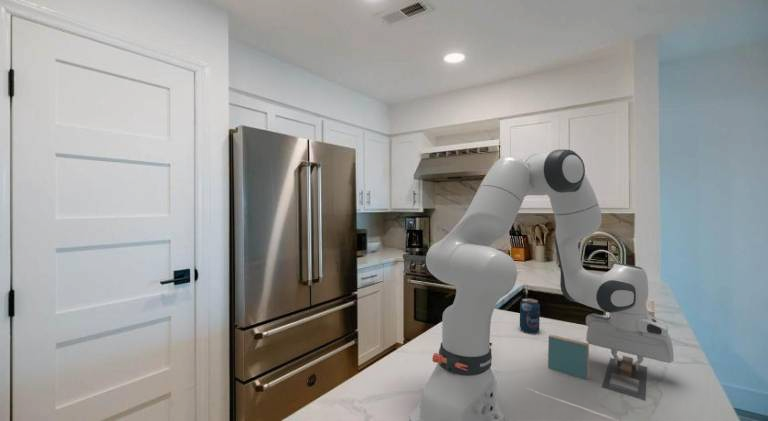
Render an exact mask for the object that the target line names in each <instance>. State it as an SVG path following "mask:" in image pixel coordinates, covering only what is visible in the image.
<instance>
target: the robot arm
mask: <svg viewBox="0 0 768 421" xmlns="http://www.w3.org/2000/svg"><path fill="white" fill-rule="evenodd" d="M585 170H586V167H585V163H584V161H583V159H582V157H581V156H580V155H579V154H578V153H576V152H575V151H574V150H571V149H564V148H562V149H555V150H552V151H546V152H540V153H535V154H531V155H528V156H524V157H523V158H518V157H515V156H504V157H503V156H502V157H500V158H499V159H497V160H496V161H495V162H494V163H493V164H492V166H491V167H490V169H489V170H488V171H487V173H486V174H485V176H484V178H483V179H482V181H481V183H480V184H479V186H478V189H477V190H476V193H475V195H474V197H473V199H472V201H471V203H470V204H469V206H468V209H467V210H466V212H465V213H464V215H463V217H462V218H461V219H460V220H459V222H458V223H457V224H456V225H455V226H454V227H453V228H452V229H451V230H450V232H448V233H447V235H446V236H445V237H443V238H442V239H441V240H438V241H437V242H435V243H434V244H432V245H431V246H430V247H429V248H428V251H427V252H426V256H425V265H426V269H427V270H428V272H429V273H430V274H431V275H433V277H434V278H436V279H437V280H439V281H440V282H441V283H442V282H443V283H444V284H448V285H450V286H453V287H455V289H456V291H455V297H454V300H453V303H452V304H451V305H449V306H448V307H446V308H445V309H444V311H443V312H442V319H441V320H442V326H441V327H442V330H441V332H442V333H441V339H442V340H441V343H440V346H439V349H438V352H437V353H436V352H435V353H433V354H432V362H433V363H434V364H435V363H436V366H435V368H434V369H433V371H432V372H431V375H430V376H429V379H428V381H427V382H426V385H425V387H424V389H423V390H422V392H421V399H420V401H419V402H418V404H417V405H416V407H415V408H414V410H413V411H412V412H411V414H410V415H409V421H505V415H504V413H503V412H502V411H501V410H500V409H499V396H498V395H499V394H498V381H497V378H496V377H495V375H494V373H493V372H492V368H491V367H492V360H493V355H492V349H491V347H490V343H491V341H490V339H491V324H492V323H491V321H492V318H493V317H492V316H493V313H494V310H495V307H496V306H497V304H498V302H499V301H500V300H501V299H502V298H504V297H506V296H507V295H508V294H509V293H510V292H511V291H512V290H513V289H514V287H515V284H516V282H517V278H518V270H517V266H516V262H515V261H514V259H513V258H512V257H511V256H510V255H509V254H508V253H505V252H504V251H502V250H499V249H497V248H494V247H493V246H491V245H492V244H493V243H495V242H496V241H497V240H500V239H502V238H504V237H505V236H507V235H508V234H509V233H510V231H511V229H512V227H513V225H514V222H515V220H516V218H517V215H518V214H519V212H520V209H521V207H522V204H523V202H524V199H525V198H526V196H548V198H549V201H550V204H551V205H550V206H551V210H552V212H553V215H554V220H555V227H554V232H553V236H554V238H553V239H554V244H555V248H556V249H555V250H556V255H557V259H558V265H559V270H560V291H561V293H562V295H563V296H564V298H566V299H567V300H568V301H571V302H575V303H578V304H582V305H585V306H586V307H590V308H592V309H596V310H597V311H598V310H599V311H602V312H604V313H609V315H604V314H598V313H594V312H593V313H591V314H588V315H586V317H585V324H586V326H587V331H586V337H585V338H586V343H588V344H589V345H592V346H597V347H600V348H603V349H604V348H605V349H609V350H610V353H611V355H612V358H613V359H616V360H615V365H617V366H621V363H622V358H620V357H619V356H618V354H617V353H618V352H622V353H626V354H629V355H635V356H636V358H637V360H636V361H634V360H633V361H632V369H633V370H636V371H638V365H641V364H642V363H643V362H644V358H646V359H650V360H655V361H657V362H658V361H660V362H663V363H667V364H671V363H672V362H673V361H675V360H674V347H673V342H672V338H671V335H669V328H668V325H667V323H666V322H664V321H662V320H659V319H657V318H656V317H655V318H656V319H655V318H652V317H650V316H648V311H647V309H648V308H647V301H648V299H649V280H648V275H647V272H646V270H645V269H644V268H643V267H640V266H637V265H633V264H632V265H631V264H626V263H622V262H617V263H613V265H612V268H611V269H610V270H608V271H606V272H604V273H602V274H596V273H594V272H593V273H592V272H589V271H588V270H587V269H585V268H584V267H583V265H582V258H581V255H580V248H579V243H580V241H581V240H584V239H586V238H589V237H590V236H593V234H594V233H596V232H597V231H598V230H599V228H600V226H601V225H602V222H603V217H602V212H601V211H602V210H601V208H600V204H599V202H598V199H597V195H596V193H595V191H594V189H593V187H592V184H591V183H590V181H589V179H588V177H587V175H586V174H585V173H586V171H585Z"/></svg>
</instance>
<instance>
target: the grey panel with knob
mask: <svg viewBox="0 0 768 421" xmlns="http://www.w3.org/2000/svg"><path fill="white" fill-rule="evenodd" d="M621 359H622V363H621V367H620V375H618V374H615V373H612V375H611V379H610V383H609V386H611V387H614V388H618V389H621V390H624V391H628V392H631V393H634V394H638V389H639V380H636V379H633V378H631V375H632V361H633V362H634V358H633V357H631V356H625V355H622V358H621Z"/></svg>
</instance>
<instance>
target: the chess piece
mask: <svg viewBox="0 0 768 421" xmlns="http://www.w3.org/2000/svg"><path fill="white" fill-rule="evenodd" d="M648 299H649V301H648V308H647V311H648V316H650V317H652V318H655V319H657V318H656V317H655V313H657V312H658V311H657V310H655V303H654V302H655V300H654V299H653V298H648Z"/></svg>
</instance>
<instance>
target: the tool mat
mask: <svg viewBox="0 0 768 421" xmlns="http://www.w3.org/2000/svg"><path fill="white" fill-rule="evenodd" d="M615 360H616V359H615V358H614V357H610V358H609V362H608V366H607V368H606V372H605V374H604V378H603V381H602V385H601V388H602V389H606V390H609V391H612V392H616V393H620V394H623V395H626V396H629V397H632V398H636V399H638V400H642V401H646V397H647V396H646V394H647V379H648V378H647V376H648V375H647V374H648V366H645V365H641V364H640V365H638V371H636V370H633V369H632V375H631V378H633V379H636V380H639V389H638V394H634V393H631V392H628V391H624V390H621V389H618V388H614V387H611V386H609V383H610V379H611V375H612V373H615V374H618V375H620V367H621V366H617V365H615Z"/></svg>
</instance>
